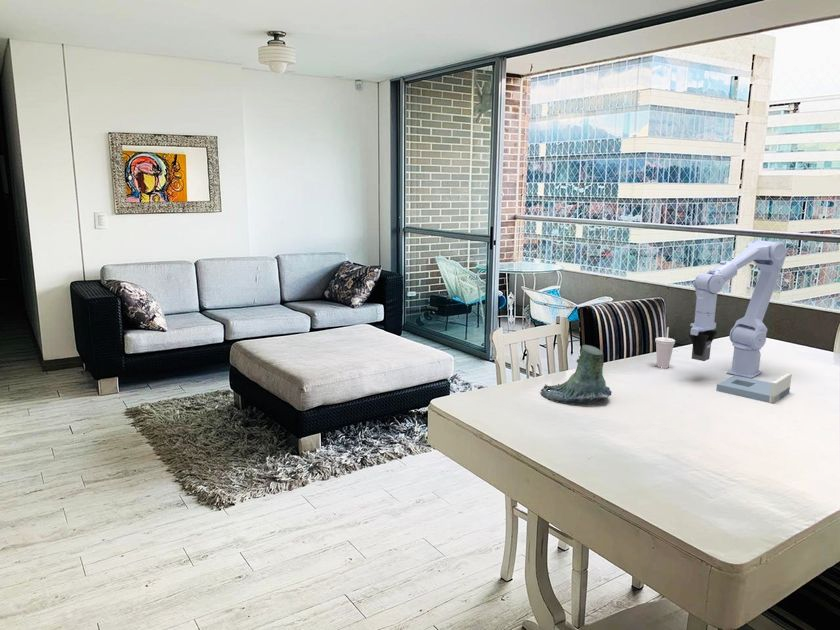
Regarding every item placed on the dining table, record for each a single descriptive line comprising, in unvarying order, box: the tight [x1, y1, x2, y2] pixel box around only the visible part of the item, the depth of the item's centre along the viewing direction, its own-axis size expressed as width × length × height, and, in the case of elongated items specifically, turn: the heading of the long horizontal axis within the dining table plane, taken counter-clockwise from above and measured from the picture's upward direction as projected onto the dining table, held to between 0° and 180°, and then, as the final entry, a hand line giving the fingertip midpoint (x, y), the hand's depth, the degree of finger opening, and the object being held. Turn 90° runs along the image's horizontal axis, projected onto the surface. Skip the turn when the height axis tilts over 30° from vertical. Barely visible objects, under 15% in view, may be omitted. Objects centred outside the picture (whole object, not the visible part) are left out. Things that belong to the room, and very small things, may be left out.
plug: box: [691, 340, 712, 362], centre depth 202 cm, size 4×4×6 cm
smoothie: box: [654, 326, 676, 369], centre depth 217 cm, size 6×6×14 cm
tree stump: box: [540, 344, 613, 405], centre depth 186 cm, size 18×20×18 cm
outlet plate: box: [715, 372, 792, 404], centre depth 192 cm, size 14×16×6 cm
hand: (701, 353), depth 203 cm, fingers closed on plug, 4 cm apart
